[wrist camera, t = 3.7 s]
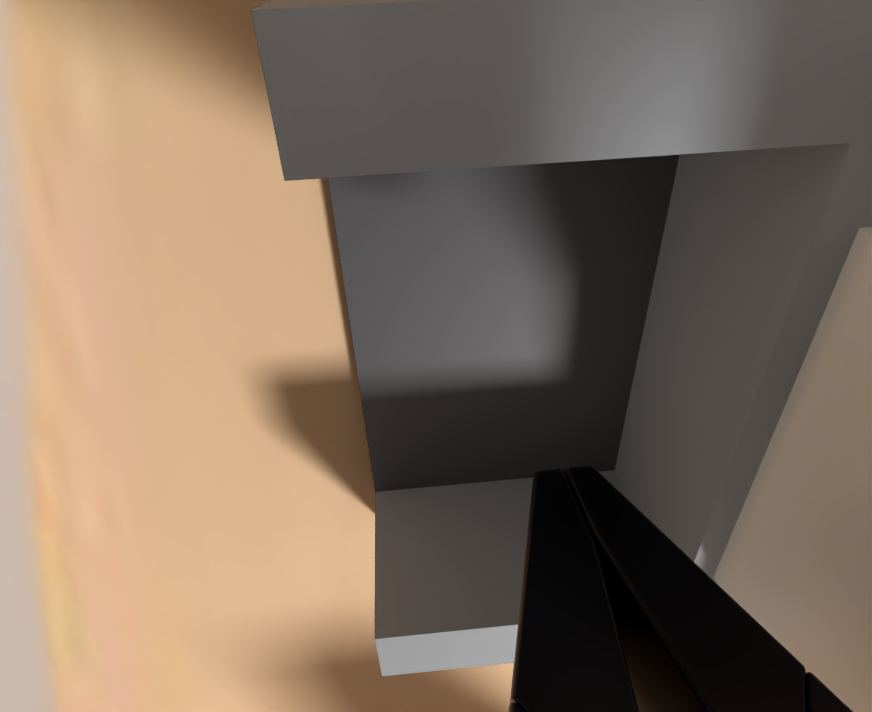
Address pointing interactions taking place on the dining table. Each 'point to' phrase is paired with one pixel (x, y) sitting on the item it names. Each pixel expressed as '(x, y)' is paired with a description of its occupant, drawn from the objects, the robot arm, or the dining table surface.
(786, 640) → the cream block
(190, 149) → the dining table surface
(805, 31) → the grey piece
